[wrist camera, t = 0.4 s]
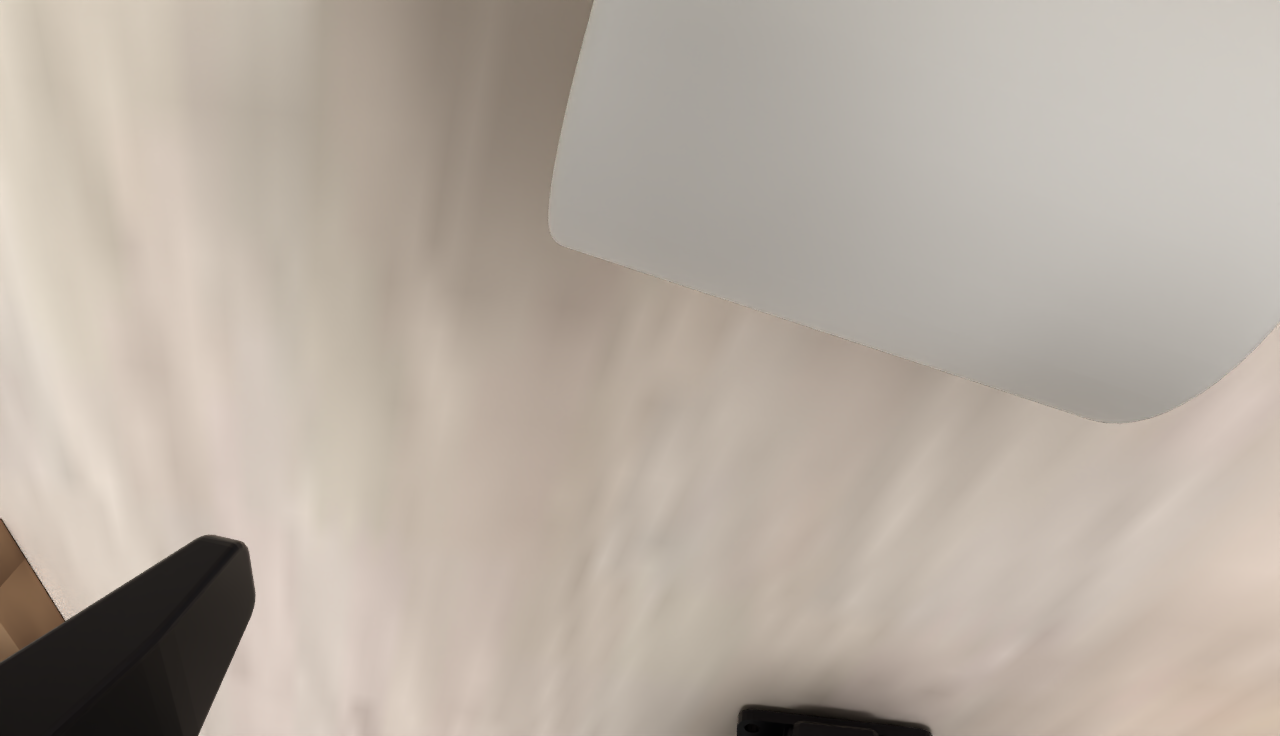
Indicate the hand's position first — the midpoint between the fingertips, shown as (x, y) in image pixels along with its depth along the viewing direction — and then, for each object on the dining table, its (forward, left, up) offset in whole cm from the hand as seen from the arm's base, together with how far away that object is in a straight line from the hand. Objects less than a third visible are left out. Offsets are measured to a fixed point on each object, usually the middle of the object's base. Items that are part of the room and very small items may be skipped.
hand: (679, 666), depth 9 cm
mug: (+4, -3, -14) cm, 15 cm away
